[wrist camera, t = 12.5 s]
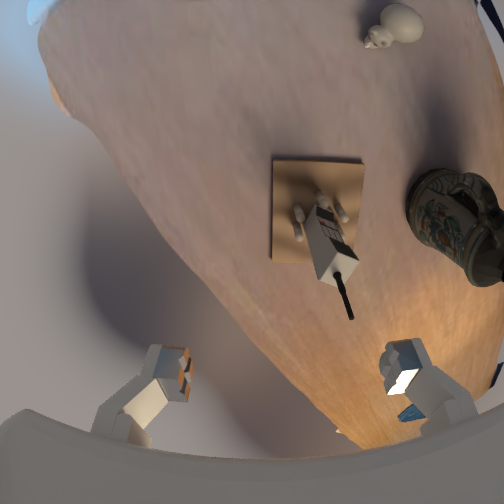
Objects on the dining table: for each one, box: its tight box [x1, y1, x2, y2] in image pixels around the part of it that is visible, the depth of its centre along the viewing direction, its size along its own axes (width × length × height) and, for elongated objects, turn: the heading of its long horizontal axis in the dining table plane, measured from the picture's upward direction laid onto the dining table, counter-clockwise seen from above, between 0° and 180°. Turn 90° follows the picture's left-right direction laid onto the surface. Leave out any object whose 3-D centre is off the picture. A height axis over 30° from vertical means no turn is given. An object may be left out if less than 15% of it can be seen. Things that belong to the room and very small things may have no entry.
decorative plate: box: [398, 404, 426, 422], centre depth 96 cm, size 30×30×5 cm
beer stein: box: [406, 168, 504, 287], centre depth 38 cm, size 16×19×25 cm
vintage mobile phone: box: [303, 203, 359, 320], centre depth 40 cm, size 4×5×25 cm
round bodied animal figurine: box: [364, 4, 424, 49], centre depth 29 cm, size 7×12×8 cm, turn 133°
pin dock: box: [272, 159, 365, 263], centre depth 48 cm, size 20×16×6 cm
